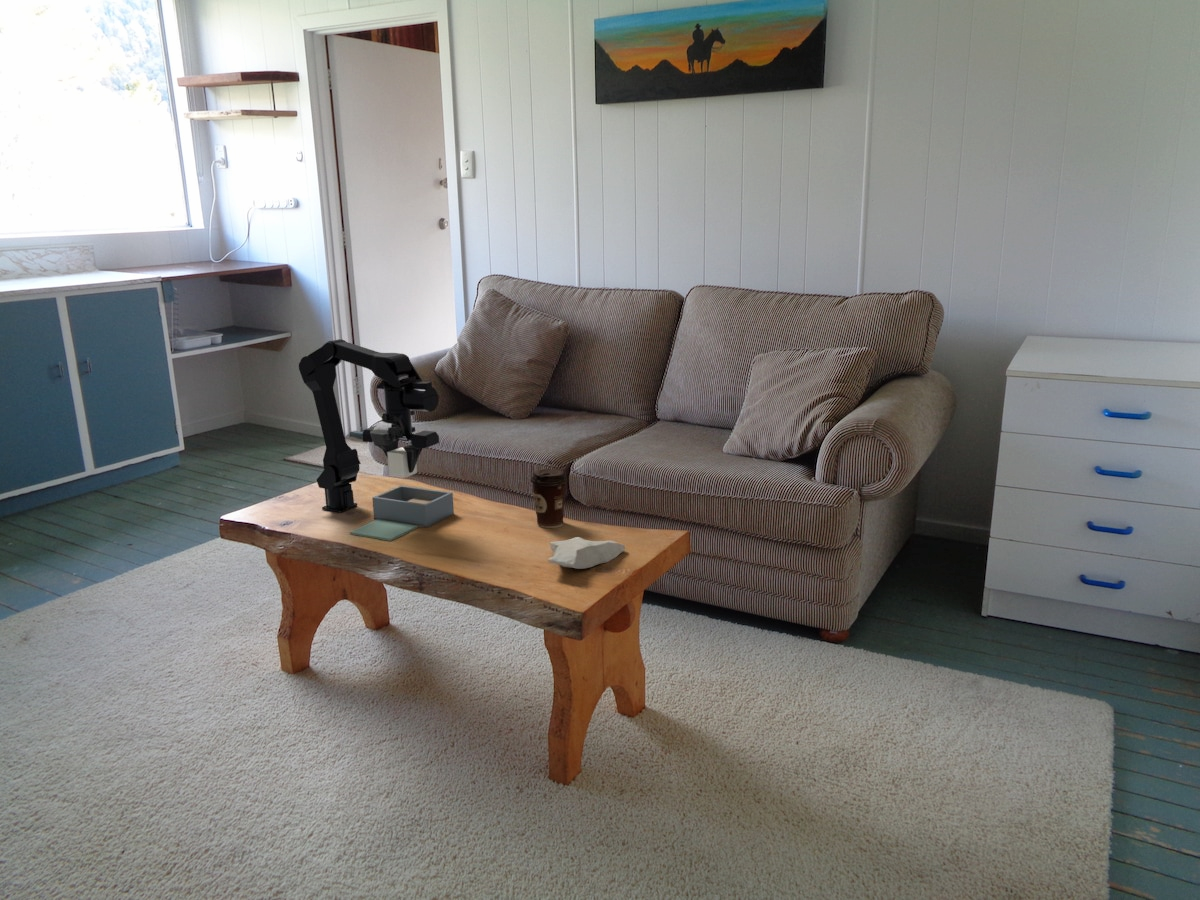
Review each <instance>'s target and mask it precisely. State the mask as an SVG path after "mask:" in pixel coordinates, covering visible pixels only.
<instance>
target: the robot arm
mask: <svg viewBox="0 0 1200 900" xmlns="http://www.w3.org/2000/svg"><path fill="white" fill-rule="evenodd" d="M342 361H343V362H347V363H350V364H353V365H355V366H357V367H358V366H359V367H361V368H364V369H368V370H370V371H371V372H372V373H373V375H374V376H376V377H378V378H379V379H381V381H380V382H379V383H378V384H377V385H376V388H377V390H384V392H383V393H384V394H383V395H384V402H385V412H384V413H382V416H381V418H382V419H381V422H379V423H378V424H377V425H373V426H371V427H368V428H364V430H363V431H362V433H361V439H362V442H365V443H373V444H374V446H376V447H378V448H379V449H381V450H382V451H383V453H384V455H385V457H386V458H387V459H386V460H388V455H387V452H389V451H391V450H394V449H397V448H399V441H402V442H403V441H404V442H408V445H406V446H403V448H404V449H405V451H406V452H407V459H408V469H409V473H411V472H413V470H414V468H415V465H416V464H417V462H418V459H419V457H420V455H421V453H422V450H423V449H427V448H429V447H430V448H431V447H432V446H435V445H437V444H440V436H439V434H438V433H437V431H432V430H421V431H419V432H417V433H413V432H416V426H413V425H412V416H414V415H415V411H421V412H430V413H432V412H434V411H435V410H436V409H437V408H438V405H439V399H440V396H439V393H438V391H437V389H436V388H435V387H433V384H432V383H433V382H431V381H423V380H422V378H421V377H420V375H419V373H418V372H417V369H416V368H415V367H414V365H413V364H412V362H411V360H410V357H409V356H408V355H406V354H405V353H398V352H380V351H375V350H374V349H369V348H367V347H363V346H360V345H357V344H354V343H351V342H348V341H347V340H345V339H333V340H329V341H328V340H327V341H326V343H324V344H323V345H322V346H321V347H319V348H318V349H316V350H314V351H312V352H310V353H309V354H308V355H304V356H303V357H302V358H301V359H300V361H299V362H298V370H299V373H300V375H301V378H302V381H303V383H304V384H305V385H306V387H307V388H308V389H309V390H310V391H311V393H312V395H313V398H314V402H315V403H314V404H315V406H316V411H317V415H318V419H319V422H320V427H321V431H322V435H323V440H324V445H325V451H324V455H323V459H322V462H323V465H322V466H323V470H322V472H321V474H319V476H318V477H317V479H316V483H317V486H318V488H319V489H324V496H325V498H324V499H325V504H326V505H325V506H322V507H321V510H325V511H330V512H338V513H342V512H345V511H348V510H349V509H352V508H355V507H356V506H358V502H355V499H354V498H355V497H354V490H353V488H352V483H355V482H356V481H357V478H358V473H359V472H360V465H361V464H362V463H361V462H360V459H359V455H358V451H357V449H356V448H353V449H352V448H351V447H350V446H349V445H348V443H347V442H346V441H347V440H346V437H345V432H344V428H343V424H342V419H341V415H340V411H339V407H338V404H337V399H336V396H335V391H334V384H335V382H336V378H337V372H336V367H337V366H338V365H339V364H341V362H342Z"/></svg>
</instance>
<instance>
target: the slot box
mask: <svg viewBox="0 0 1200 900" xmlns="http://www.w3.org/2000/svg"><path fill="white" fill-rule="evenodd" d="M372 508H373V509H372V511H373V519H374V520H377V519H380V520H386V521H392V522H398V523H405V524H411V525H417V526H418V527H423V528H429V527H431V526H433V525H435V524H437V523H438V522H441V521H442V520H445V519H447V518H448V517H450V516H452V515H454V514H455V512H454V511H455V509H454V493H453V492H450V491H444V490H436V489H429V488H422V487H415V486H408V485H399V486H397V487H394V488H392V489H388V490H386V491H384V492H382V493H380V494H378V495H377V494H376V495H375V496H372Z"/></svg>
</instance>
